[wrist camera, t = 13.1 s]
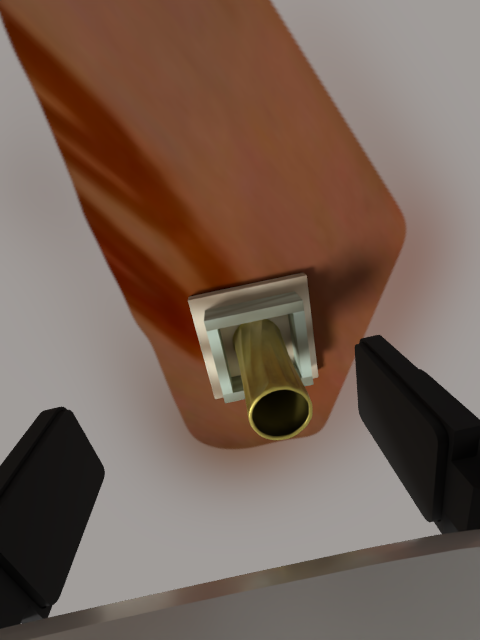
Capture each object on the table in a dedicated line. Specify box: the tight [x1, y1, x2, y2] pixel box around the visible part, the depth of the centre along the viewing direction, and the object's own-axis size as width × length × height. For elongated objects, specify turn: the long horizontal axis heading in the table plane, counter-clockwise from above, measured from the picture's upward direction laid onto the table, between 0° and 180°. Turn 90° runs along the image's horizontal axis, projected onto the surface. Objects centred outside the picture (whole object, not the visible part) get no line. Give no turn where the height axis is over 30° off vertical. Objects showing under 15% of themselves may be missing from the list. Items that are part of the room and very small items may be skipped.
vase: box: [232, 319, 312, 440], centre depth 31 cm, size 6×6×14 cm
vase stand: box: [188, 273, 318, 403], centre depth 37 cm, size 14×14×5 cm
